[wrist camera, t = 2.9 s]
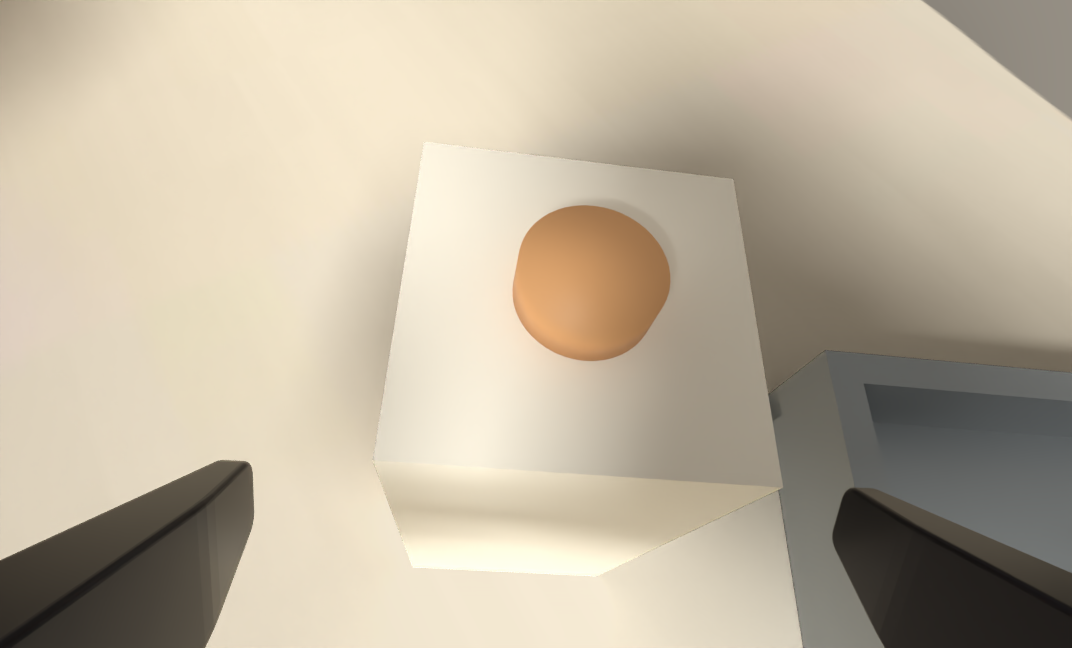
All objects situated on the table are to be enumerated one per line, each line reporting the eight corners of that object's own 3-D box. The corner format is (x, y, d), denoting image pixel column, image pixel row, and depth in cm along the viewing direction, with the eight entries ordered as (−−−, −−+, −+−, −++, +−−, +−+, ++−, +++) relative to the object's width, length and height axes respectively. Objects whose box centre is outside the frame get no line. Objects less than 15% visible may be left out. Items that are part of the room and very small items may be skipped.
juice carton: (597, 576, 18) (814, 472, 8) (412, 567, 18) (365, 441, 7) (594, 404, 21) (753, 147, 10) (433, 391, 20) (422, 105, 10)
